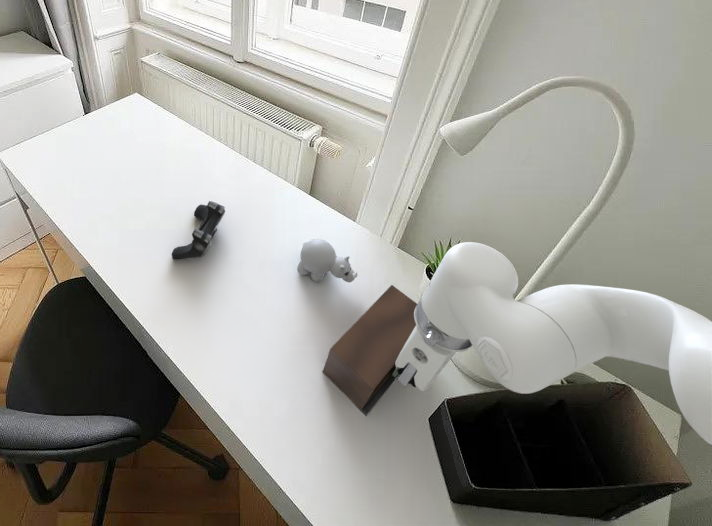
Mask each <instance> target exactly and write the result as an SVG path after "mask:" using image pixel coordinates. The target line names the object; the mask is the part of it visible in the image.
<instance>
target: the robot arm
mask: <svg viewBox="0 0 712 526" xmlns="http://www.w3.org/2000/svg"><path fill="white" fill-rule="evenodd" d="M518 286H519V275H518V273H517V270H516V269H515V267H514V265H513V263H512V262H511V261H510V260H509V259H508V258H507V256H505V255H504V254H503V253H502V252H500V251H499V250H497V249H495V248H493V247H491V246H489V245H487V244H484V243H481V242H473V241H466V242H460V243H457V244H455V245H453V246H452V247H450V248H449V249H448V250H447V251H446V253H445V254H444V255H443V257H442V259H441V261H440V262H439V263H438V266H437V268H436V270H435V272H434V273H433V275H432V276H431V279H430V280H429V282H428V284H427V286H426V288H425V290H424V291H423V293H422V295H421V297H420V298H419V300H418V301H417V306H416V308H415V310H414V319H415V323H416V326H415V328H414V330H413V331H412V333H411V335H410V336H409V338H408V340H407V341H406V343H405V345H404V347H403V349H402V350H401V352H400V354H399V356H398V358H397V360H396V362H395V366H396V369H397V368H398V370H397V372H398V374H400V375H399V376H398V379H397V381H398V383H400V384H401V385H402V387H405V388H406V386H408V384H409V385H411V386H412V387H413V388H417V389H419V390H420V391H427V390H428V389H429V388H430V386H431V385H432V384H433V382H434V381H435V380H436V379H437V377H438V376H439V374H440V373H441V372H442V371H443V370H444V368H445V367H446V366H447V364H448V363H449V362H450V361H451V360H452V358H453V357H454V355H455V354H456V353H462V352H466V351H468V350H469V349H471V348H472V347H473V349H474V351H475V352H476V354H477V356H478V358H479V360H480V362H481V363H482V366H483V367H484V368H485V369H486V371H487V372H488V373H489V374H490V375H491V376H492V377H493V378H494V379H495V380H496V382H498V383H499V384H500V385H501V386H503V387H504V388H506V389H507V390H509V391H511V392H514V393H516V394H520V395H521V394H522V395H523V394H525V395H526V394H533V393H537V392H539V391H542V390H543V389H546V388H548V387H549V386H551V385H554V384H556V383H557V382H559V381H562V380H563V379H565V378H567V377H569V376H570V375H572V374H574V373H576V372H578V371H580V370H582V369H584V368H585V367H587V366H589V365H591V364H593V363H596V362H598V361H599V360H602V359H604V358H615V359H620V360H625V361H628V362H629V361H630V362H634V363H638V364H642V365H645V366H650V367H655V368H658V369H661V370H664V371H668V375H669V380H670V381H669V382H670V386H671V389H672V392H673V396H674V398H675V399H674V400H675V401H676V404H677V406H678V408H679V410H680V412H681V414H682V416H683V418H684V419H685V421H686V423H687V424H688V425H689V426H690V427H691V428H692V429H693V430H694V431H695V433H696V434H697V435H698V436H699V437H700V438H701V439H703V440H704V441H705V442H706V443H708V445H711V446H712V320H711V319H709V318H707V317H706V316H704V315H702V314H700V313H698V312H696V311H695V310H693V309H690V308H689V307H686V306H684V305H682V304H680V303H676V302H675V301H672V300H670V299H667V298H665V297H663V296H660V295H658V294H654V293H650V292H648V291H647V292H646V291H642V290H636V289H629V288H621V287H612V286H602V285H592V284H591V285H590V284H577V283H575V284H573V283H572V284H569V283H568V284H559V285H553V286H548V287H546V288H543V289H540V290H538V291H535V292H533V293H531V294H528V295H526V296H524V297H522V298H520V299H517V300H516V299H515V298H514V295H515V294H516V292H517V290H518Z"/></svg>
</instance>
